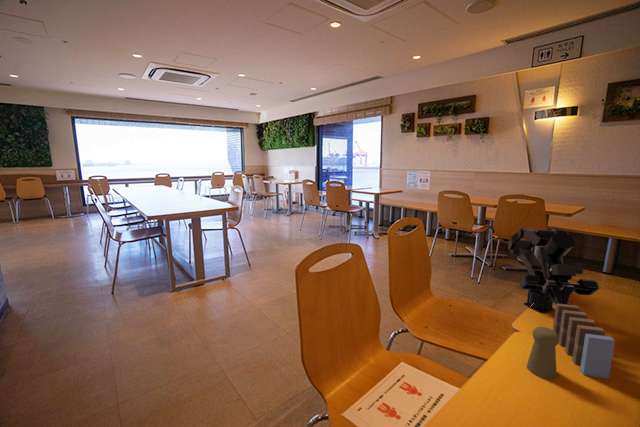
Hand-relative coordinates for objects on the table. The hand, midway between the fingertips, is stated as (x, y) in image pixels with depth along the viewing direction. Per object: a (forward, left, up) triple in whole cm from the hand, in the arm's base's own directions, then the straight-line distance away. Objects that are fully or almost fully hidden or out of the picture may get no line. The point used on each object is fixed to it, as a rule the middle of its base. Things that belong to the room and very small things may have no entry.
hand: (563, 312), depth 88 cm
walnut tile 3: (+8, -6, -7) cm, 12 cm away
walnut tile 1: (+1, -1, -7) cm, 7 cm away
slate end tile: (+14, -10, -7) cm, 19 cm away
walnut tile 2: (+5, -3, -7) cm, 9 cm away
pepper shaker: (+9, -21, -7) cm, 24 cm away
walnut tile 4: (+11, -8, -7) cm, 15 cm away
